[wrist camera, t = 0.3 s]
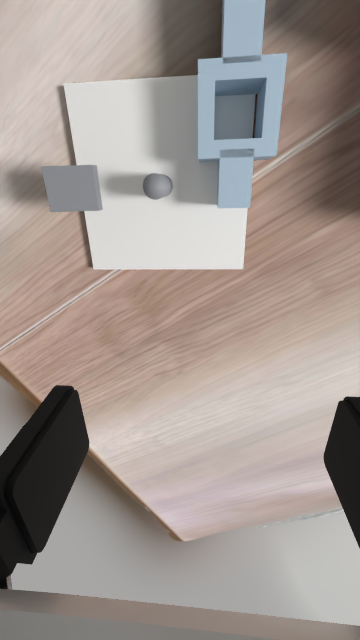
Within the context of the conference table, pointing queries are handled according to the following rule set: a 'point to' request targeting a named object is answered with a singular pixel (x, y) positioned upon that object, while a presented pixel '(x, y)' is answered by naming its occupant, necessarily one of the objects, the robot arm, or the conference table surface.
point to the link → (238, 79)
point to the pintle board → (157, 148)
